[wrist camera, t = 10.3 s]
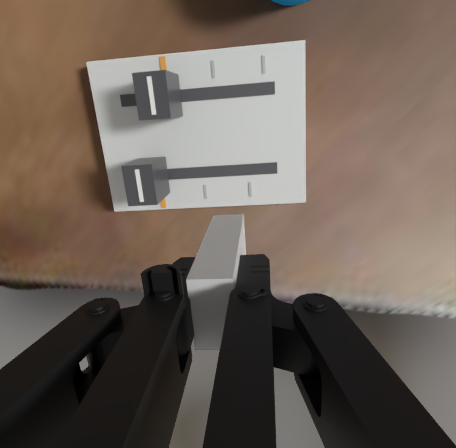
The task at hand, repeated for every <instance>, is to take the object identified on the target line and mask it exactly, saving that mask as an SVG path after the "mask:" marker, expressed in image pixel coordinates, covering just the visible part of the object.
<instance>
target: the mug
mask: <svg viewBox="0 0 456 448" xmlns="http://www.w3.org/2000/svg"><path fill="white" fill-rule="evenodd" d="M271 1H273V2H276V3H278V4H281V5H299V4H301V3H304V2H307V1H309V0H271Z"/></svg>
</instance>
